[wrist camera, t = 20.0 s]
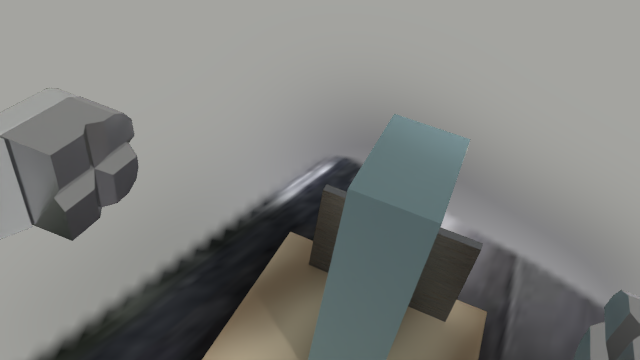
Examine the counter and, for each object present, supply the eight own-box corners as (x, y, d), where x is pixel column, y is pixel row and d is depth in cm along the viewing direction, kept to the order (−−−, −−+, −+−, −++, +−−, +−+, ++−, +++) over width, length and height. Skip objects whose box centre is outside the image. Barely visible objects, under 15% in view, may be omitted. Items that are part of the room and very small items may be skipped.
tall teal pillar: (402, 310, 34) (471, 138, 26) (370, 401, 29) (442, 224, 20) (346, 286, 35) (394, 112, 27) (304, 370, 30) (347, 188, 21)
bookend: (451, 298, 36) (486, 226, 31) (445, 322, 34) (481, 249, 30) (320, 245, 38) (335, 170, 34) (308, 264, 36) (323, 189, 32)
